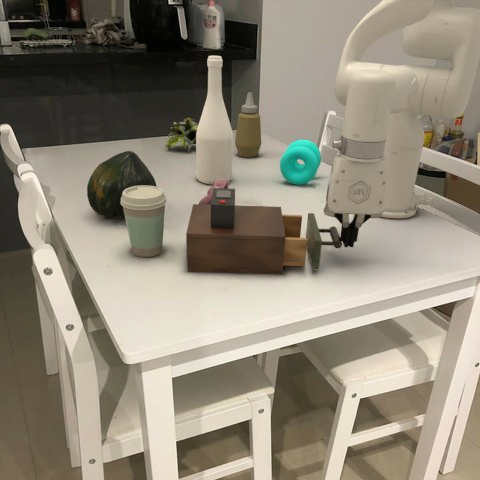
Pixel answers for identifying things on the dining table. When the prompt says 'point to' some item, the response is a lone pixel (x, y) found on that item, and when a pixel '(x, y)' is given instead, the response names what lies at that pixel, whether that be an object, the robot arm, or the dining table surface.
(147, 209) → the coffee cup
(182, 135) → the green leafy plant
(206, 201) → the video game controller
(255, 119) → the squeeze bottle
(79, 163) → the dining table surface
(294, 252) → the drawer
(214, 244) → the cabinet
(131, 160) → the squash
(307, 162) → the donuts
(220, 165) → the wine bottle
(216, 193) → the red button box
